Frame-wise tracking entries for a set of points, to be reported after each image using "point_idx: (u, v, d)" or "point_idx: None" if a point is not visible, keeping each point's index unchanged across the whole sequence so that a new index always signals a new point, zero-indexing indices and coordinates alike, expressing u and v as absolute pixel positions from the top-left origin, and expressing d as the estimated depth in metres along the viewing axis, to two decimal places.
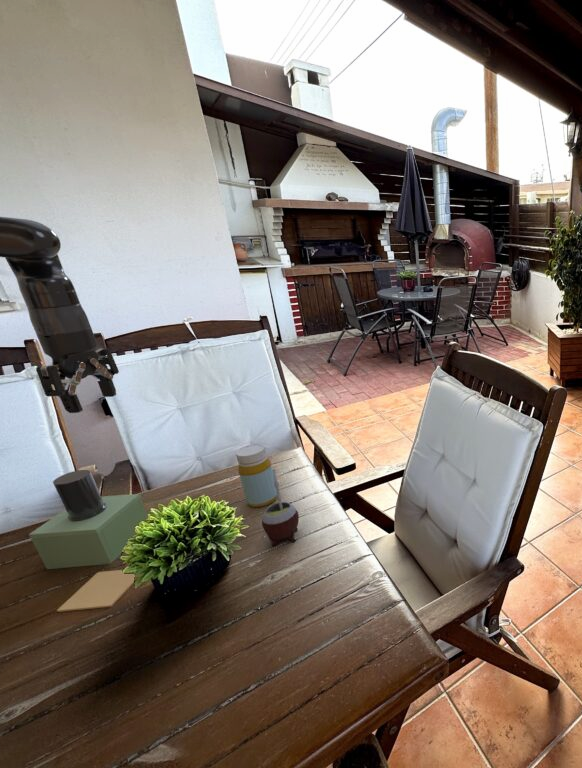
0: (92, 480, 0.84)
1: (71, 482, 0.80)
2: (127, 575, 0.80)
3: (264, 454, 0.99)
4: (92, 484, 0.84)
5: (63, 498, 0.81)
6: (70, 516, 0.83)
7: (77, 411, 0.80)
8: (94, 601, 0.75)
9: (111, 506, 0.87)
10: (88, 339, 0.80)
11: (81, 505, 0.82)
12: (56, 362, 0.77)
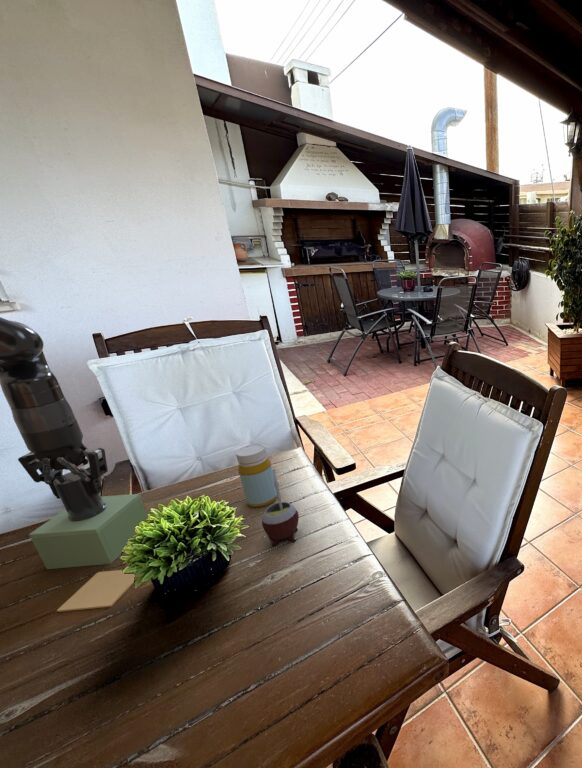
0: None
1: (71, 482, 0.80)
2: (127, 575, 0.80)
3: (264, 454, 0.99)
4: None
5: (63, 498, 0.81)
6: (70, 516, 0.83)
7: (100, 491, 0.85)
8: (94, 601, 0.75)
9: (111, 506, 0.87)
10: None
11: (81, 505, 0.82)
12: (80, 449, 0.80)
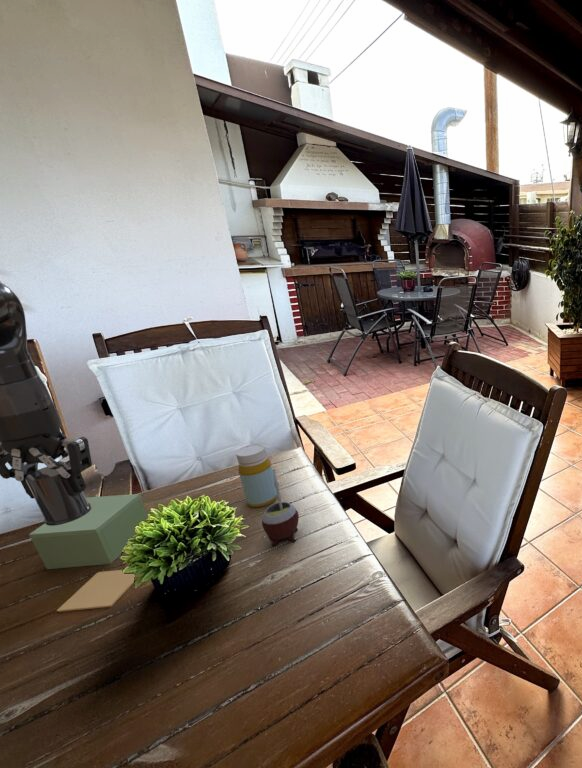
0: None
1: (46, 478, 0.67)
2: (127, 575, 0.80)
3: (264, 454, 0.99)
4: None
5: (38, 498, 0.67)
6: (47, 519, 0.69)
7: (83, 489, 0.71)
8: (94, 601, 0.75)
9: (111, 506, 0.87)
10: None
11: (60, 506, 0.68)
12: (58, 438, 0.66)
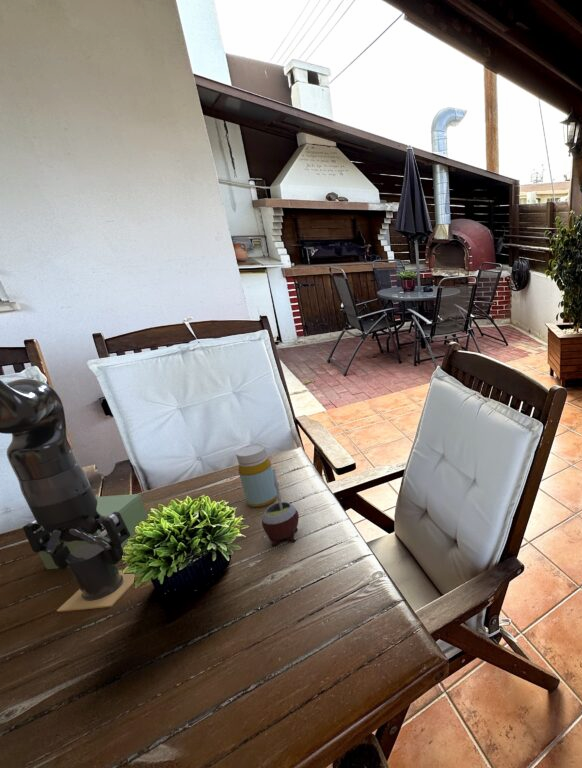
0: None
1: (85, 559, 0.72)
2: (127, 575, 0.80)
3: (264, 454, 0.99)
4: None
5: (77, 577, 0.73)
6: (84, 595, 0.75)
7: (121, 557, 0.77)
8: (94, 601, 0.75)
9: (111, 506, 0.87)
10: None
11: (96, 583, 0.74)
12: (93, 518, 0.72)
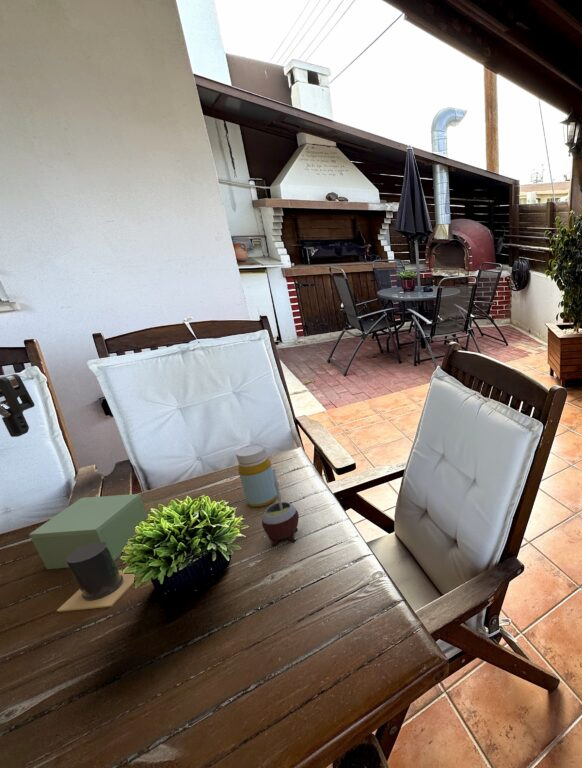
0: (108, 554, 0.76)
1: (85, 559, 0.72)
2: (127, 575, 0.80)
3: (264, 454, 0.99)
4: (108, 558, 0.76)
5: (77, 577, 0.73)
6: (84, 595, 0.75)
7: (25, 431, 0.68)
8: (94, 601, 0.75)
9: (111, 506, 0.87)
10: None
11: (96, 583, 0.74)
12: None
